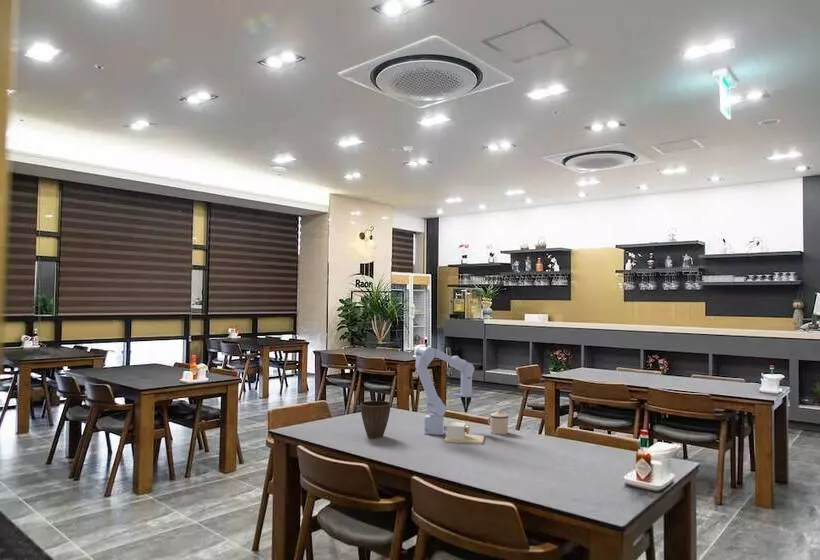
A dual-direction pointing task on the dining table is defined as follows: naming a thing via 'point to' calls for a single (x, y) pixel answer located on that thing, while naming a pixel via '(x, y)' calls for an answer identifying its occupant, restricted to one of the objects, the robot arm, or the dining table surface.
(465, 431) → the shaft
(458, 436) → the bearing block
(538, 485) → the dining table surface
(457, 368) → the robot arm
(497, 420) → the teacup with lid
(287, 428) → the dining table surface
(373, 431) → the plant pot
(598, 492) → the dining table surface
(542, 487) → the dining table surface
